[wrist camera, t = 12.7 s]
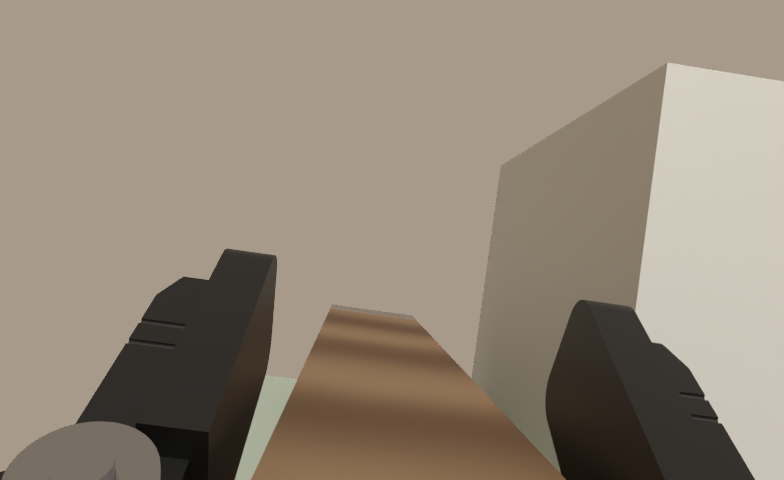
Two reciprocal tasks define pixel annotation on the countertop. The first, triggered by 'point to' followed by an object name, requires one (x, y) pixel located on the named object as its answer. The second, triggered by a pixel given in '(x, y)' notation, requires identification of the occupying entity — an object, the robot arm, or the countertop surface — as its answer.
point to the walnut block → (392, 412)
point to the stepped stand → (638, 253)
